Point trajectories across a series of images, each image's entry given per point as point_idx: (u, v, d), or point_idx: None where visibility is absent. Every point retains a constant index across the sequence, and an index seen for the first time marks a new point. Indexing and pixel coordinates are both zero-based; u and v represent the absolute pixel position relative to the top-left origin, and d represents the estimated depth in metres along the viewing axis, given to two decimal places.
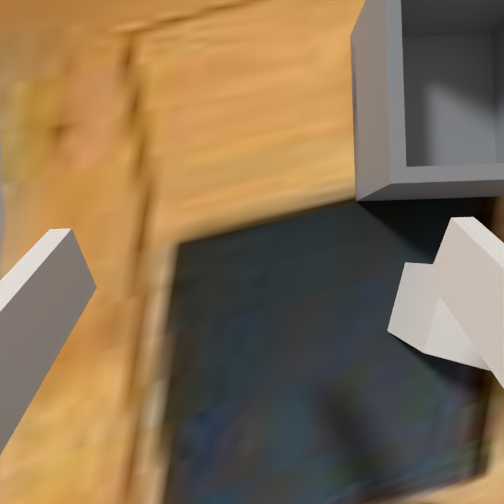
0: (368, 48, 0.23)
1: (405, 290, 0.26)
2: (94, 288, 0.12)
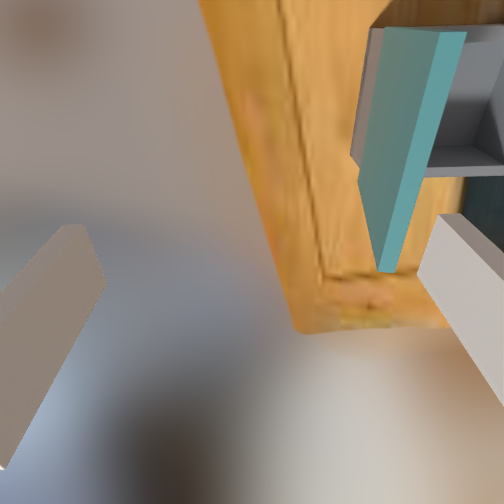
0: None
1: None
2: (104, 283, 0.12)
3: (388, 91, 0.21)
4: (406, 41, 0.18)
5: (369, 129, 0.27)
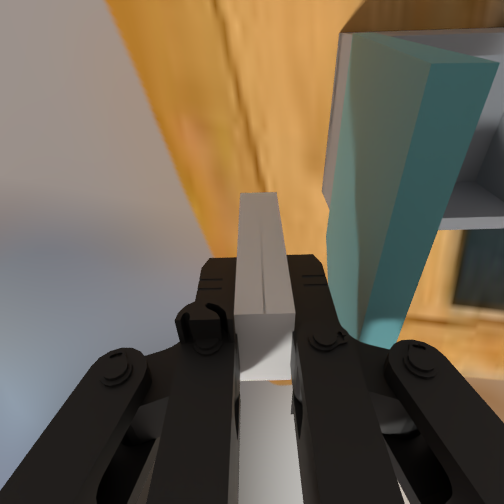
0: None
1: None
2: None
3: (352, 136, 0.13)
4: (373, 64, 0.10)
5: (336, 175, 0.19)
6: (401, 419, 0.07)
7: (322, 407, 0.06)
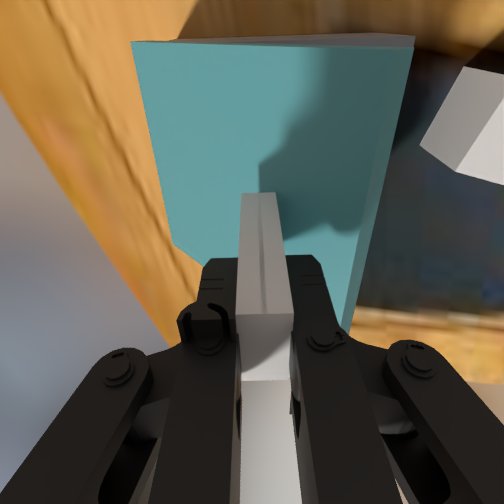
0: None
1: None
2: None
3: (211, 134, 0.14)
4: (240, 63, 0.11)
5: (170, 181, 0.19)
6: (399, 419, 0.07)
7: (320, 407, 0.06)
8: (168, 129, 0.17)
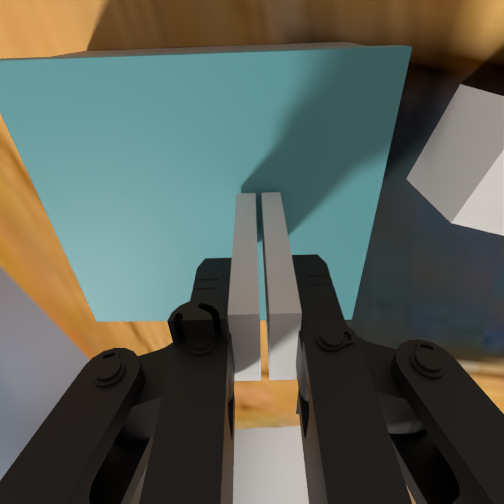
0: None
1: None
2: None
3: (181, 159, 0.12)
4: (233, 73, 0.10)
5: (91, 241, 0.14)
6: (408, 419, 0.07)
7: (329, 407, 0.06)
8: (86, 173, 0.13)
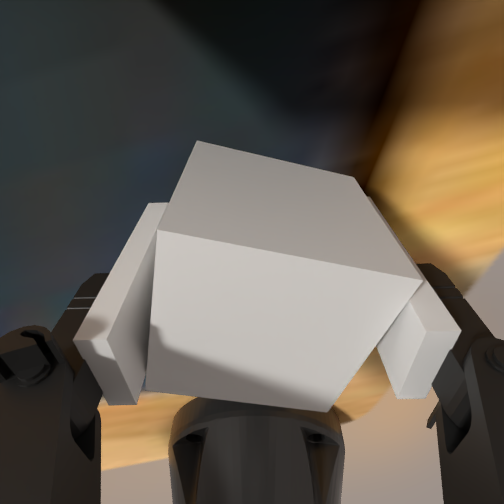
0: None
1: None
2: None
3: None
4: None
5: None
6: None
7: None
8: None
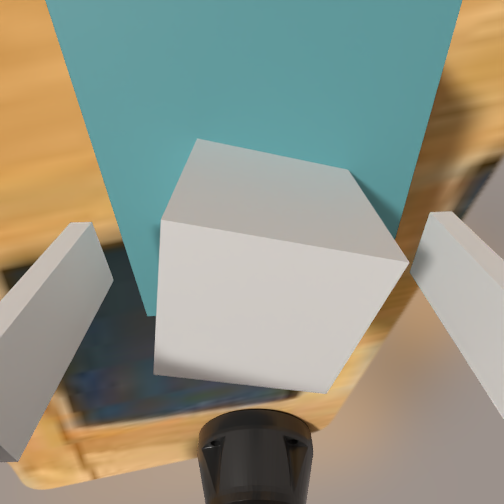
0: None
1: None
2: (111, 281, 0.13)
3: None
4: (387, 220, 0.14)
5: (227, 35, 0.10)
6: None
7: None
8: (326, 63, 0.10)
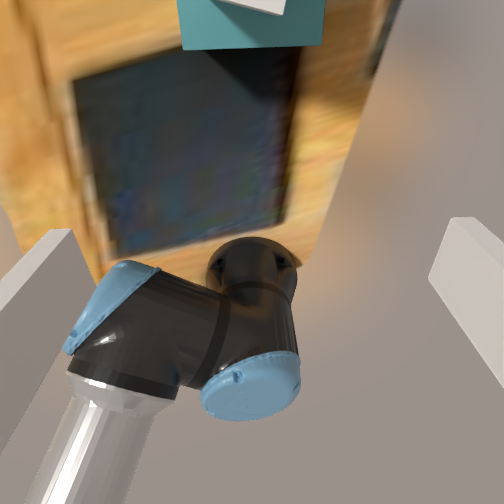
0: None
1: None
2: (94, 288, 0.12)
3: None
4: None
5: None
6: None
7: None
8: None
